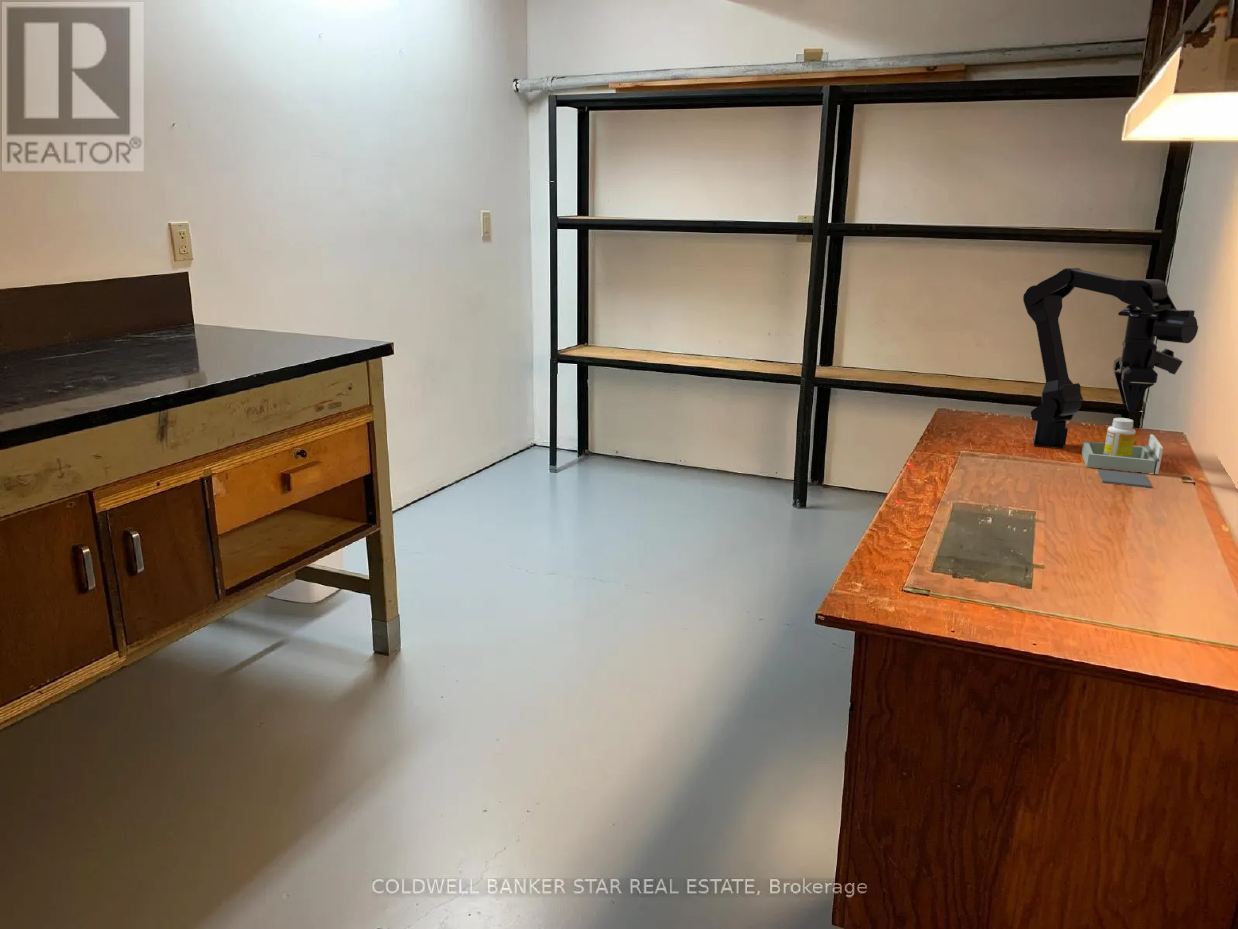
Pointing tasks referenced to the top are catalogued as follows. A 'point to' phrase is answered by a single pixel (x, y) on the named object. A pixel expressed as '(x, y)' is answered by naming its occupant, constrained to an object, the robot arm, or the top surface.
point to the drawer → (1138, 462)
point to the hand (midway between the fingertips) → (1128, 407)
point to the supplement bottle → (1120, 438)
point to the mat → (1124, 478)
